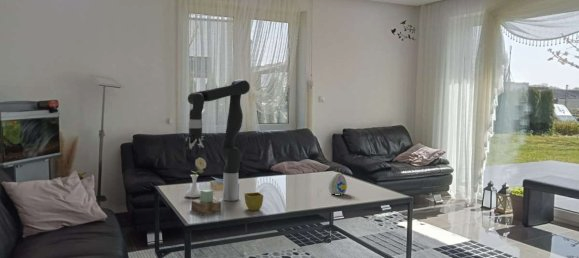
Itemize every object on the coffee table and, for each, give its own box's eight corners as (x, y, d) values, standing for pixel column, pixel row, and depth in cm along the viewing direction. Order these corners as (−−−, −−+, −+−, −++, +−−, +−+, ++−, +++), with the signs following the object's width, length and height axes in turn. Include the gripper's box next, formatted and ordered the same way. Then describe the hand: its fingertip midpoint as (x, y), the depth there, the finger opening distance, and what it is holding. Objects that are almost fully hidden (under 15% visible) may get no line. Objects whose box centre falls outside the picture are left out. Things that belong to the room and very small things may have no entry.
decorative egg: (334, 197, 288) (335, 174, 287) (324, 193, 299) (325, 171, 298) (350, 195, 294) (350, 173, 292) (339, 191, 305) (340, 170, 303)
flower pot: (248, 212, 246) (249, 196, 246) (243, 208, 254) (244, 193, 254) (263, 210, 250) (263, 195, 249) (257, 207, 258) (258, 192, 257)
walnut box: (210, 207, 255) (210, 197, 254) (220, 212, 246) (220, 201, 245) (191, 210, 247) (191, 200, 247) (201, 215, 238) (201, 205, 238)
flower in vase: (187, 199, 270) (187, 159, 268) (183, 195, 281) (183, 156, 278) (207, 197, 276) (208, 158, 274) (203, 193, 286) (203, 156, 284)
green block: (207, 199, 250) (207, 189, 249) (213, 201, 247) (213, 190, 246) (200, 201, 246) (200, 190, 245) (206, 202, 243) (206, 192, 242)
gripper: (200, 126, 262) (200, 152, 263) (181, 127, 251) (181, 155, 252) (209, 126, 258) (208, 154, 259) (190, 128, 246) (190, 156, 248)
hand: (195, 154), depth 256 cm, fingers open, 8 cm apart
